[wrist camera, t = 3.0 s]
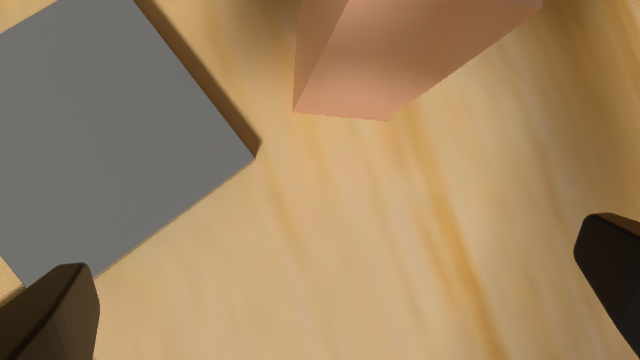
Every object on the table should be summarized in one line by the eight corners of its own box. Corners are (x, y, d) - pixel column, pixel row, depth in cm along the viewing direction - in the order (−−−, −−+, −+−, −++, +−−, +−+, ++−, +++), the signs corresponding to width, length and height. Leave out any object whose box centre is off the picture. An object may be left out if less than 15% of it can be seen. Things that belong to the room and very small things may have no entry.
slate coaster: (253, 161, 21) (255, 158, 20) (55, 308, 18) (45, 312, 18) (115, -18, 20) (109, -30, 19) (-102, 110, 18) (-121, 104, 17)
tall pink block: (384, 120, 22) (548, 3, 11) (292, 112, 21) (361, -26, 10) (387, 31, 23) (546, -173, 11) (297, 20, 22) (368, -213, 10)
